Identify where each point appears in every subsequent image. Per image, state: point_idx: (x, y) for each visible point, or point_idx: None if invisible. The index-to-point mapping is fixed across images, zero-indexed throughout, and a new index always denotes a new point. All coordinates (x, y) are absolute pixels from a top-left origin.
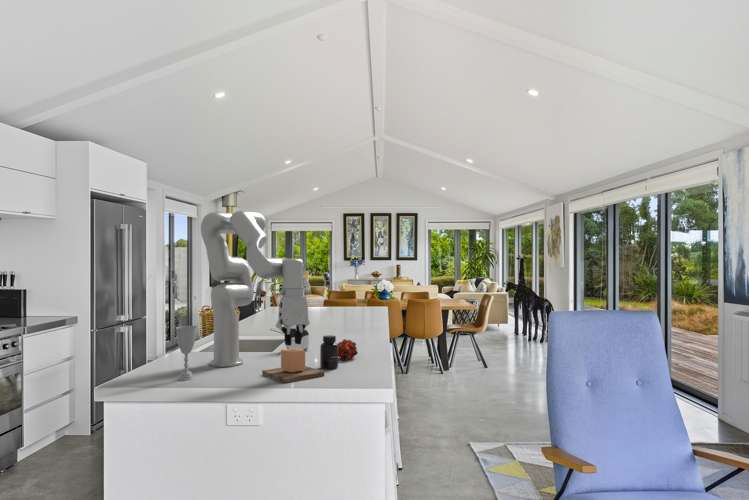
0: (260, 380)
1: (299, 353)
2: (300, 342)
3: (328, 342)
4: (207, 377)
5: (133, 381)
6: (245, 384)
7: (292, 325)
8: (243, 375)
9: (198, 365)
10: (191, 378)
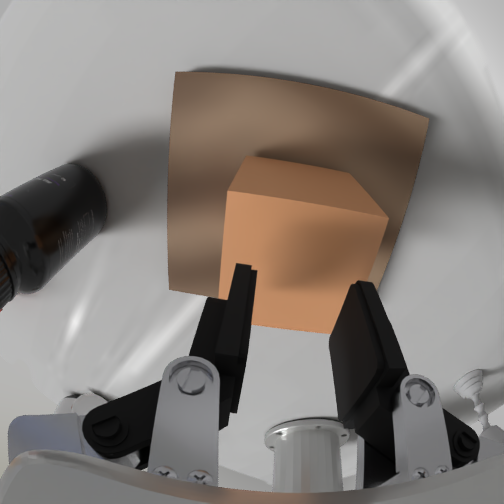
0: (432, 241)
1: (291, 192)
2: (241, 270)
3: (1, 242)
4: (448, 370)
5: (494, 400)
6: (489, 236)
7: (443, 474)
8: (397, 337)
9: (353, 445)
10: (472, 373)
